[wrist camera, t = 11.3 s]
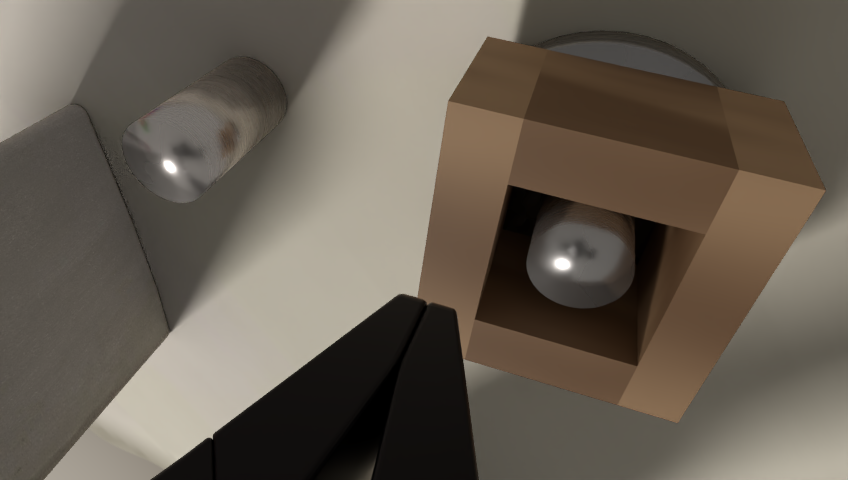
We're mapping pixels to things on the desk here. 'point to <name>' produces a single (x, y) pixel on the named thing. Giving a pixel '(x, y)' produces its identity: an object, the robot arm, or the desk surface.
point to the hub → (584, 224)
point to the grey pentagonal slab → (65, 292)
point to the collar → (621, 192)
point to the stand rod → (204, 129)
